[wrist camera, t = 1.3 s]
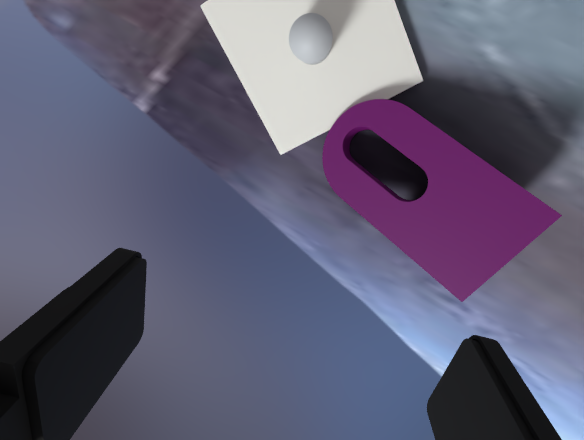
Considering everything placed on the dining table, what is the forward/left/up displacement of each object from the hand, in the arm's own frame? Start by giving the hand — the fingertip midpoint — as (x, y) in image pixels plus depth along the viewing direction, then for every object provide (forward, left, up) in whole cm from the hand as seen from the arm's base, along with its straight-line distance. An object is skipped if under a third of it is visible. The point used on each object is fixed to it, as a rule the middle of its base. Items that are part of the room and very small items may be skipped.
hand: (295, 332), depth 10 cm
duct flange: (-4, -9, -25) cm, 27 cm away
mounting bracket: (-7, +6, -26) cm, 27 cm away
